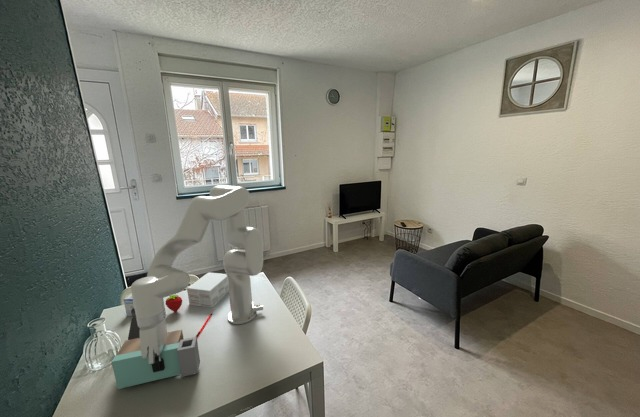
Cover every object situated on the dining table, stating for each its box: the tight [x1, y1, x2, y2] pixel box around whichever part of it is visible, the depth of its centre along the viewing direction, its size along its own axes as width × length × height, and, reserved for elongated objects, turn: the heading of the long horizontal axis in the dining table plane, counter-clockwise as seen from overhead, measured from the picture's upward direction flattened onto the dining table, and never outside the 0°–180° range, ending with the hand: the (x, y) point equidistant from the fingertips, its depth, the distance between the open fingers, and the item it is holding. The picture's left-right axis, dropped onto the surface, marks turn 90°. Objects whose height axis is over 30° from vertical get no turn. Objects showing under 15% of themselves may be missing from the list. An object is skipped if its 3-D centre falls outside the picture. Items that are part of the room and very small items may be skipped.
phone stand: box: [127, 308, 140, 340], centre depth 105 cm, size 9×6×12 cm, turn 158°
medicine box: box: [123, 293, 134, 317], centre depth 122 cm, size 8×4×9 cm, turn 5°
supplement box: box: [186, 272, 229, 309], centre depth 133 cm, size 17×13×9 cm
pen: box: [195, 313, 213, 339], centre depth 110 cm, size 1×19×1 cm, turn 1°
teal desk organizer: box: [111, 336, 201, 390], centre depth 84 cm, size 23×5×10 cm, turn 107°
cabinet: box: [116, 329, 194, 377], centre depth 89 cm, size 23×13×9 cm, turn 107°
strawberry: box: [165, 293, 183, 313], centre depth 120 cm, size 6×8×10 cm
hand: (160, 366), depth 84 cm, fingers closed on teal desk organizer, 2 cm apart
